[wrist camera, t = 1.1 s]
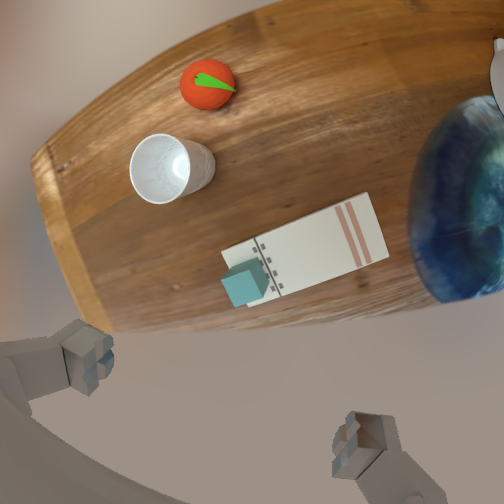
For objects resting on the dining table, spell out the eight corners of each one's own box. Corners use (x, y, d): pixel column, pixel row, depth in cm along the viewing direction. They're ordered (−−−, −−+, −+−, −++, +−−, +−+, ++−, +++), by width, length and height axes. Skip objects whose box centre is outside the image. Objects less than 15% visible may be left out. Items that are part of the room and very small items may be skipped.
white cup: (182, 130, 39) (144, 123, 29) (229, 152, 38) (202, 150, 29) (161, 179, 41) (121, 186, 32) (205, 203, 41) (173, 216, 32)
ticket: (365, 191, 36) (367, 192, 35) (387, 253, 37) (389, 256, 36) (257, 235, 41) (254, 238, 39) (283, 292, 42) (281, 296, 41)
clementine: (255, 76, 34) (242, 60, 28) (236, 121, 37) (220, 114, 30) (203, 63, 35) (182, 47, 28) (186, 106, 38) (161, 97, 31)
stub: (254, 236, 41) (244, 249, 35) (280, 293, 42) (274, 313, 37) (223, 249, 42) (208, 263, 37) (249, 304, 44) (239, 324, 38)
